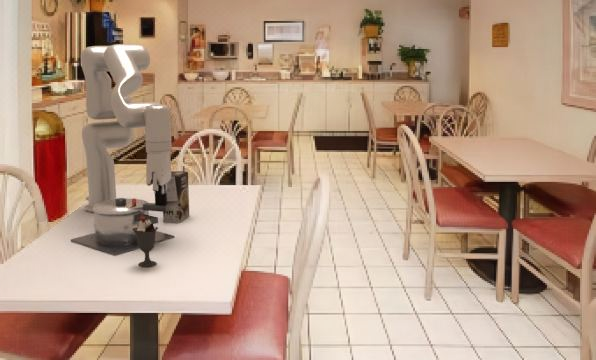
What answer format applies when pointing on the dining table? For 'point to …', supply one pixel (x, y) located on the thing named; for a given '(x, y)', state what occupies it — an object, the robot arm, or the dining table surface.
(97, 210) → the lid
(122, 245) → the cooker
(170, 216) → the coffee box
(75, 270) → the dining table surface
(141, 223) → the sundae
